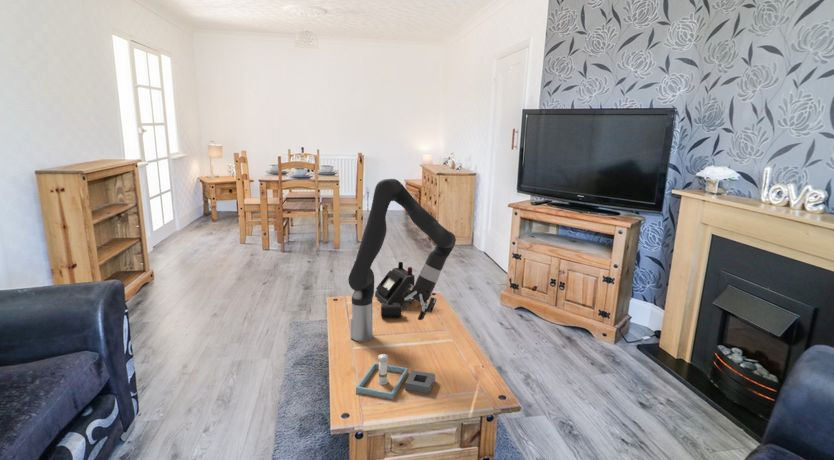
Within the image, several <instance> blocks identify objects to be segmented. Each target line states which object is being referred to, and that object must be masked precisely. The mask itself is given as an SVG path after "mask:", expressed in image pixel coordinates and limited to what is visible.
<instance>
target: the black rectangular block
mask: <svg viewBox="0 0 834 460" xmlns="http://www.w3.org/2000/svg"><path fill="white" fill-rule="evenodd" d="M400 317H402V304H399V303H393V305H388V303H382V302H381V305H380V318H382V319H390V318H393V319H394V318H400Z"/></svg>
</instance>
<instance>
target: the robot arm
mask: <svg viewBox="0 0 834 460" xmlns="http://www.w3.org/2000/svg"><path fill="white" fill-rule="evenodd" d="M373 191H374V192H373V197H372V198H373V199H372V203H371V207H370V211H369V215H368V218H367V221H366V223H365V228H364V230H363V234H362V237H361V239H360V240H361V241H360V244H359V248H358V252H357V254H356V258H355V261H354V263H353V265H352V268H351V271H350V273H349V275H348V285H349V287H350V288H351V289H352V290H353V293H352V296H351V318H350V321H349V322H350V323H349V324H350V325H349V326H350V327H349V328H350V339H353V340H354V341H356V342H361V343H362V342H363V343H364V342H367V341H368V342H369V341H371V340H372V339H373V334H374V333H373V320H374V319H373V298H374V296H375V273H374V272H373V270H372V268H371V267H372V265H373V262H374V261H375V259H376V258H377V256H378V255H379V253H380V250H381V249H382V246H383V244H384V241H385V238H386V236H387V235H386V234H387V231H388V229H387V221H386V218H387V217H386V216H387V211H388V209H389V206H390V204H391V202H395V203H397V204H398V205H400V206H401V207H402V208H403V210H405V211H406V213H407V214H408V216H409V218H410V220H411V221H412V223H414V225H416V226H417V227H418V229H420V230H421V231H422V232H423V233H425V234H426V235H427V237H428V238H429V239H430V240H431V241H432V242H433V243H434V244H435V246H434V249H433V250H431V251H430V253H429V254H428V256H427V258H426V261H425V263H424V264H423V266H422V268H421V270H420V272H419V274H418V276H417V279H416V280H415V284H414V286H413V285H412V284H407V286H406V288H405V290H404V292H403V294H402V297H403V298H404V302H403V304H401V311H402V310H403V311H406V310H407V308H408V307H409V301H410V300H412V299H414V301H417V302H418V303H420V306H421V309H422V310H421V311H420V313H419V315H418V317H417V320H418V321H422V320H424V319H425V316H426V315H427V314H428V313H432V312H433V310H434V307H435V304H436V303H437V298H436V297H433V296H432V295H431V294H432V293H433V291H434V289H435V287H436V285H437V282H438V280H439V278H440V276H441V272H442V270H443V268H444V265H445V263H446V260H447V259H448V258H449V256H450V254H451V252H452V251H453V249H454V247H455V245H456V243H457V242H456V241H457V240H456V239H457V237H456V236H455V234H454V233H453V232H452V231H449V230H447V229H446V228H445V227H444V226H443V225H441V224H440V223H439V221H438V220H437V219H436V218H435V217H434V216H432V214H431V213H429V211H427V210H426V209H425V208H424V207H423V206H422V205H421V204H420V203H419V202H418V201H417V200H416V199H415V198H414V197H413V196H412V195H411V193H409V191H408V190H407V189H406V187H405V186H404V185H403V183H401V181H399V180H398V179H395V178H386V179H385V178H384V179H381V180H380V181H378V182H377V183H376V185H375V187H374V190H373ZM411 290H412V292H413V293H411V294H410V295H409V293H410V291H411ZM428 300H429V301H428Z"/></svg>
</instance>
